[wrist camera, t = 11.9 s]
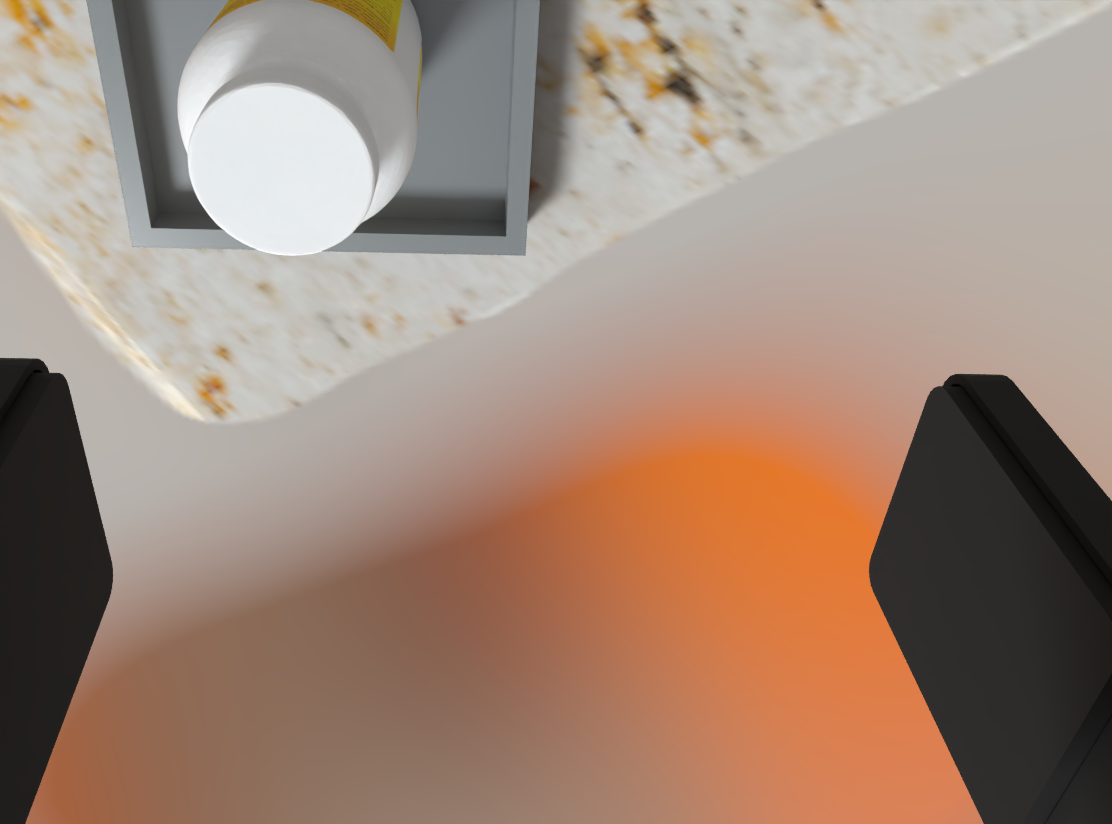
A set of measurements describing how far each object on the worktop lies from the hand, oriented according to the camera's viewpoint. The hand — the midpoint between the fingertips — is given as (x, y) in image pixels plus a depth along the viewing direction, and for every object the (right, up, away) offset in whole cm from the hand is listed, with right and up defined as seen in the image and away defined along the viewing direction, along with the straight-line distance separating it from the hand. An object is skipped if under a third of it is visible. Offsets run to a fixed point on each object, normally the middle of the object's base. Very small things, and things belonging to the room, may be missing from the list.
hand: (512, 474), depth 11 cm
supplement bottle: (-8, +14, +25) cm, 30 cm away
